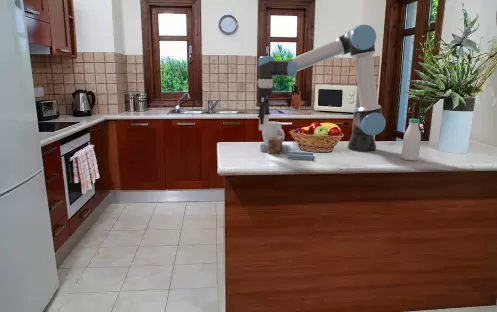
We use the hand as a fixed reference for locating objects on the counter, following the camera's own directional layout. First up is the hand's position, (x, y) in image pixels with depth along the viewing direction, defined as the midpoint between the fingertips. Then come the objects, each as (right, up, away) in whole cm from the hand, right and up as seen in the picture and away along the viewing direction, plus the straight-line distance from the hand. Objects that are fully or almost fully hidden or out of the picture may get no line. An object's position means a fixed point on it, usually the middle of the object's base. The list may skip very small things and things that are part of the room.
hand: (263, 128), depth 186 cm
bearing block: (+6, -12, +1) cm, 14 cm away
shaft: (+6, -12, +2) cm, 14 cm away
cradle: (+18, -15, -11) cm, 26 cm away
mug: (+6, -8, +19) cm, 22 cm away
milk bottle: (+72, -16, -11) cm, 74 cm away
